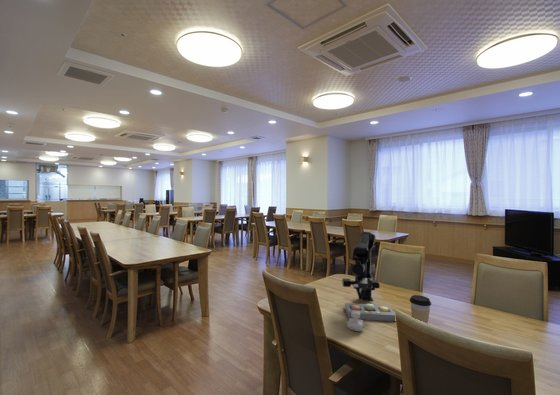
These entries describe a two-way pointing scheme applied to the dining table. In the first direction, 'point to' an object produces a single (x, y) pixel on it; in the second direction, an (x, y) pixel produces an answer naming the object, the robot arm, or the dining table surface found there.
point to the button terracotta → (355, 307)
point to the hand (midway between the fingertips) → (359, 299)
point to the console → (371, 312)
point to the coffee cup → (420, 307)
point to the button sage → (369, 307)
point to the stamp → (355, 321)
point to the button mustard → (384, 309)
